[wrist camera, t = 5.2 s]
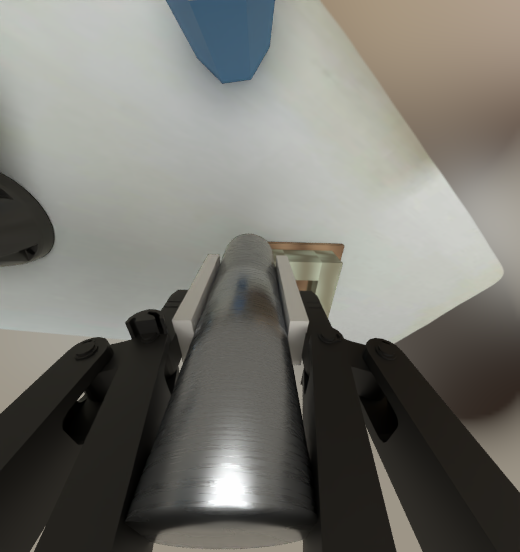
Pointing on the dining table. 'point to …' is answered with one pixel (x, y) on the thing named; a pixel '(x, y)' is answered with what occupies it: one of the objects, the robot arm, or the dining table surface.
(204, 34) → the water bottle
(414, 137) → the dining table surface
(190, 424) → the peg
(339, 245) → the socket
